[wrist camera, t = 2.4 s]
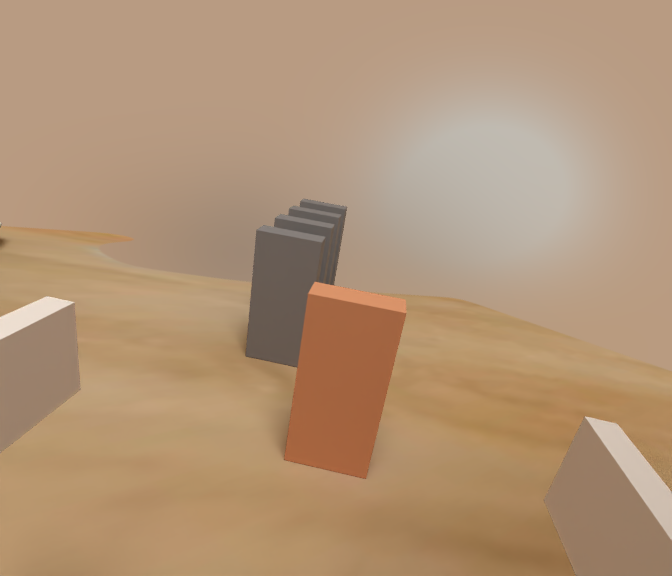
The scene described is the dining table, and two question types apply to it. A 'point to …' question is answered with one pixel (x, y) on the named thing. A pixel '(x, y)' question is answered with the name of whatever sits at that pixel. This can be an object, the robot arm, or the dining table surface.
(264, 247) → the domino
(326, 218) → the domino
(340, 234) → the domino
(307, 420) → the domino
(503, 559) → the dining table surface
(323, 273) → the domino
